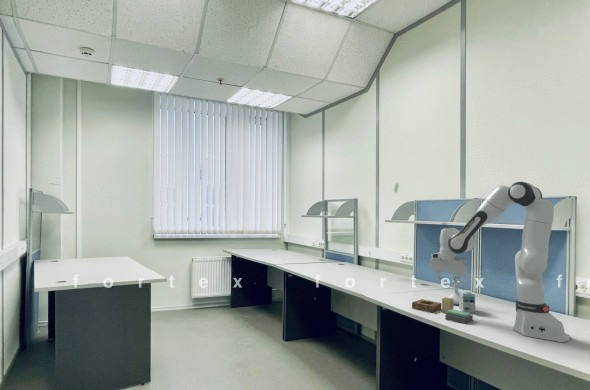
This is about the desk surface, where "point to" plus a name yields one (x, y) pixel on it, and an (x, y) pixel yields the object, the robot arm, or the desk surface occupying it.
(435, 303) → the brown square frame
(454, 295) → the flower in vase
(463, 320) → the block
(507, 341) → the desk surface
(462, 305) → the light bulb box
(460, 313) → the button
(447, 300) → the block
